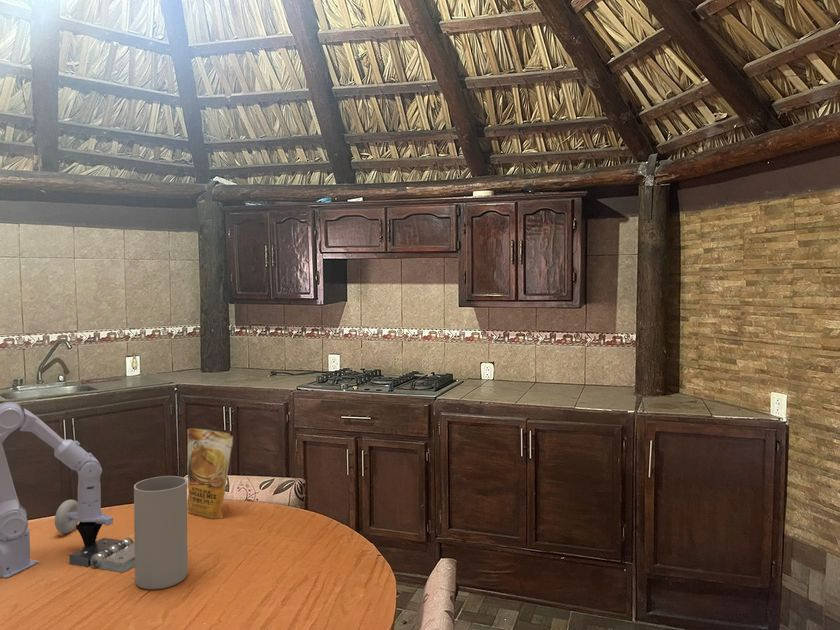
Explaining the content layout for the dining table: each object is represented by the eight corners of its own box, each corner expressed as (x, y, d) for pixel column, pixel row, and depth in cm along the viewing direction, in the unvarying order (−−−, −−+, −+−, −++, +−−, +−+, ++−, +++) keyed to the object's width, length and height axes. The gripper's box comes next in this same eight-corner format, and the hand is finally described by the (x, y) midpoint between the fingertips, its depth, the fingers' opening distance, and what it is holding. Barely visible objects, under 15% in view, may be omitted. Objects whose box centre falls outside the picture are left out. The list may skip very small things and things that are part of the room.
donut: (63, 539, 180) (63, 506, 180) (52, 538, 180) (51, 505, 180) (83, 526, 190) (82, 494, 189) (72, 525, 190) (71, 494, 190)
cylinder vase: (137, 572, 159) (136, 478, 158) (187, 565, 163) (187, 474, 163) (132, 594, 147) (131, 493, 146) (187, 586, 152) (186, 488, 151)
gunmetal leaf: (100, 568, 161) (100, 555, 161) (69, 563, 164) (69, 550, 163) (133, 550, 172) (133, 538, 172) (103, 546, 175) (103, 533, 175)
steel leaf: (122, 573, 158) (122, 559, 158) (89, 567, 161) (88, 554, 161) (156, 553, 171) (155, 540, 170) (124, 548, 174) (124, 536, 173)
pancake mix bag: (195, 505, 209) (194, 425, 208) (235, 515, 200) (235, 431, 199) (179, 511, 203) (178, 429, 202) (220, 522, 194) (219, 436, 193)
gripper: (120, 498, 173) (121, 544, 173) (80, 493, 177) (80, 538, 177) (101, 506, 166) (102, 554, 167) (59, 501, 170) (60, 548, 171)
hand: (89, 547), depth 172 cm, fingers closed
